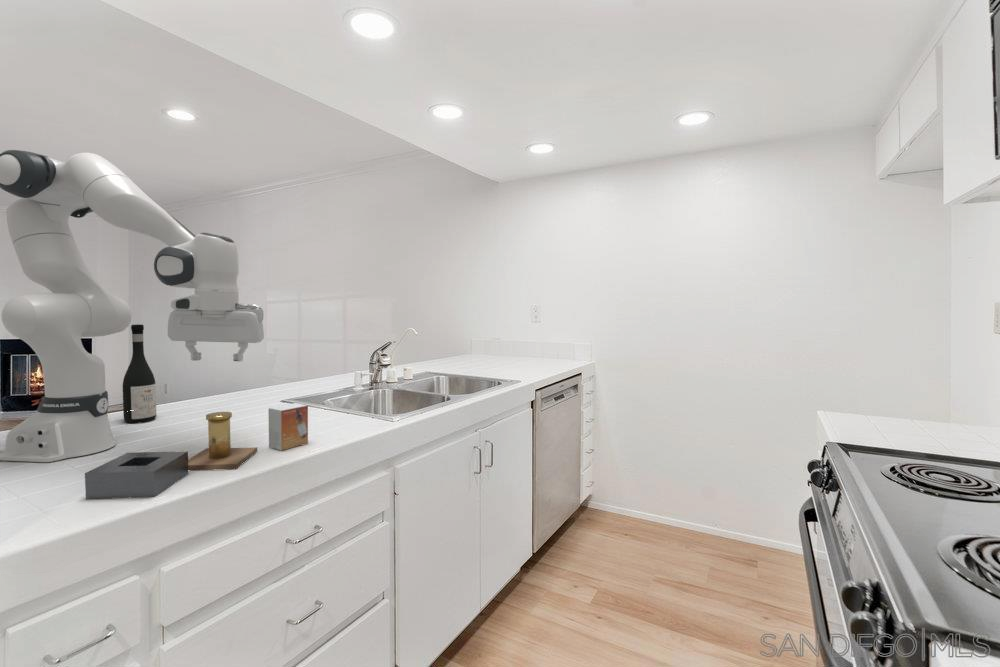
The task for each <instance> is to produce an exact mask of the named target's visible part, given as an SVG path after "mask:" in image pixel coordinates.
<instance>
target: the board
mask: <svg viewBox="0 0 1000 667" xmlns="http://www.w3.org/2000/svg"><path fill="white" fill-rule="evenodd" d="M256 452H257V453H258V447H257V446H255V447H231V455H230V456H228V457H226V458H221V459H210V458H209V447H208V448H207V447H206V448H205V449H203V450H201V451H199V452H198V453H197V454H195V455H193V456H192V457H190V458H188V470H190V471H214V469H227V470H237V469H238V467H239V466H240V465H241V464H242V463H243V462H245V461H246V460H247V459H248V460H250V459H251V458H252V457H253V456H255V455H256V454H257V453H256ZM255 453H256V454H255ZM252 455H253V456H252ZM251 456H252V457H251ZM250 457H251V458H250ZM249 458H250V459H249ZM248 460H247V461H248ZM247 461H246V462H247ZM246 462H245V463H246ZM243 464H244V463H243ZM243 464H242V465H243ZM242 465H241V466H242ZM241 466H240V467H241ZM240 467H239V468H240ZM236 468H237V469H236Z"/></svg>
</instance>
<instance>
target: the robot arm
mask: <svg viewBox="0 0 1000 667" xmlns="http://www.w3.org/2000/svg"><path fill="white" fill-rule="evenodd" d="M0 189H1V190H3V191H5V192H6V193H8V194H11V195H13V196H15V197H18V198H19V199H16V200H13V201H12V202H11V203H9V204H8V205H7V207H6V210H5V211H6V213H5V214H6V215H5V216H6V223H7V224H6V225H7V229H8V232H9V237H10V240H11V242H12V247H13V248H14V251H15V254H16V256H17V260H18V261H19V263H20V264H19V265H20V266H21V270H22V272H23V274H25V277H27V278H28V279H29V280H30V281H32V282H34V283H36V284H38V285H40V286H42V287H44V288H46V289H47V290H48V291H50V292H36V293H28V294H22V295H17V296H13V297H11V298H10V299H9V300H8V301H7V302H6V303H5V304H4V306H3V307H2V311H1V322H2V324H3V326H4V329H6V330H7V331H8V332H9V333H10V334H11V335H12V336H14V337H15V338H18V339H20V340H21V341H23V342H24V343H26V344H27V345H28V346H29V347H30V348H31V349H32V351H33V352H34V353H35V355H36V356H37V357H38V360H39V362H40V364H41V368H42V370H41V371H42V375H43V377H42V378H43V385H44V386H43V387H44V396H42V397H41V398H39V399H35V400H31V402H32V404H31V406H37V405H38V407H37V409H36V412H35V413H33V414H32V415H30V416H29V417H28V418H26V419H24V420H23V421H22V422H20V423H19V424H17V425H16V426H14V427H13V428H11V429H10V430H9V431H8V433H7V435H6V438H5V444H4V445H5V446H4V447H5V448H2V449H1V450H0V461H5V462H6V461H7V462H8V461H10V462H29V463H30V462H31V463H49V462H51V463H52V462H55V461H56V462H57V461H61V460H64V459H69V458H75V457H76V458H77V457H81V456H88V455H92V454H96V453H100V452H103V451H105V450H108V449H111V448H113V447H115V446H116V445H117V442H116V441H115V438H114V436H113V433H112V430H111V426H110V421H109V416H108V411H109V392H108V391H107V390H106V374H105V373H106V371H105V370H106V368H105V363H104V361H103V360H102V358H100V357H98V356H97V355H95V354H93V353H90V352H88V351H87V350H86V349H85V347H84V345H83V342H82V339H81V338H95V337H98V338H99V337H106V336H109V335H113V334H117V333H121V332H123V331H125V330H126V329H128V327H129V326H130V324H131V322H132V309H131V307H130V305H129V304H128V302H127V301H125V299H123V298H121V297H118V296H117V295H115V294H114V293H112V292H110V291H109V290H108V289H106V287H105V286H103V285H102V284H101V283H100V282H99V281H98V280H97V279H96V277H95V276H94V275H93V274H92V273H91V272H90V270H89V269H88V267H87V266H86V264H85V261H84V259H83V257H82V255H81V252H80V250H79V248H78V245H77V243H76V240H75V238H74V235H73V233H72V231H71V228H70V225H69V218H70V217H73V218H77V219H81V218H83V217H85V216H86V215H87V214H90V213H94V214H95V215H96V216H98V217H99V218H100V219H102V220H104V221H105V222H107V223H108V224H110V225H112V226H115V227H117V228H121V229H124V230H128V231H131V232H136V233H138V234H142V235H146V236H147V237H148V236H149V237H152V238H153V239H156V240H158V241H160V242H162V243H164V244H165V245H167V247H163V248H162V249H161V250H160V251H158V253H157V254H156V256H155V257H154V260H153V261H154V262H153V271H154V274H155V276H156V277H157V279H158V280H159V281H160V282H161V283H162V284H164V285H165V286H169V287H173V288H184V289H185V288H186V289H194V294H192V295H188V296H185V297H180V298H178V299H177V298H175V299H173V300H171V301H170V307H171V309H172V311H171V312H170V313H169V316H168V320H167V337H168V338H169V339H170V340H171V341H172V342H173V341H174V342H185V344H184V345H185V347H186V349H187V350H188V352H189V353H190V360H191V361H201V360H202V352H198V350H197V348H196V347H195V346H196V345H197V342H199V343H201V342H203V343H204V342H208V343H209V342H210V343H237V347H238V348H240V349H239V350H238V352H237V353H233V356H232V357H233V362H243V361H244V353H245V352H246V350H247V349H248V347H249V343H250V344H257V343H258V344H259V343H261V342H262V341H263V340H264V338H265V333H264V332H265V330H264V323H263V320H264V310H263V309H262V307H260V306H258V305H257V304H255V303H253V304H252V303H251V304H250V303H249V304H248V303H247V304H246V303H239V288H238V284H237V280H238V276H239V255H238V254H239V253H238V248H237V246H236V243H235V241H234V240H233V239H232V238H230V237H227V236H223V235H219V234H214V233H210V232H200V233H197V234H196V235H195V234H194V232H193V233H192V231H191V230H189V229H188V227H186V226H185V225H183V223H182V222H180V221H179V220H178V219H176V218H175V217H174V216H173V215H171V214H170V213H169V212H168V211H166V210H165V209H164V208H163V207H161V206H160V205H159V204H158V203H157V202H155V200H153V199H152V198H151V197H150V196H148V195H147V194H146V193H145V192H144V191H143V190H142V189H141V188H140V187H139V186H138V185H137V184H136V183H135V182H134V180H133V181H132V179H131V178H129V176H128V175H126V173H124V172H123V171H122V170H121V169H120V168H118V167H117V166H116V165H114V164H113V163H112V162H111V161H109V160H107V159H106V158H105V157H103V156H101V155H99V154H96V153H92V152H79V153H75V154H73V155H72V156H69V157H68V159H66V160H65V161H63V160H60V159H55V158H51V157H48V156H47V155H43V154H39V153H36V152H32V151H26V150H20V149H19V150H18V149H8V150H4V151H2V152H1V153H0ZM33 402H34V403H33Z"/></svg>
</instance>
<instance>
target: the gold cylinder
mask: <svg viewBox="0 0 1000 667" xmlns="http://www.w3.org/2000/svg"><path fill="white" fill-rule="evenodd" d="M232 417H233V413H232V412H231V411H216V412H211V413H208V414H206V415H205V420H207V424H208V425H207V428H208V430H207V431H208V448H209V458H210V459H221V458H226V457H228V456H230V455H231V448H232V445H231V418H232Z"/></svg>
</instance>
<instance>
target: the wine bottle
mask: <svg viewBox="0 0 1000 667" xmlns="http://www.w3.org/2000/svg"><path fill="white" fill-rule="evenodd" d="M144 328H145V327H144V324H141V323H140V324H138V323H137V324H131V325H130V330H131V337H132V356H131V360H130V362H129V365H128V368H127V370H126V372H125V373H124V377H123V381H122V407H123V410H122V411H123V420H124V421H125V423H128V424H140V423H139V422H142V423H146V422H145V421H147V422H150V421H149V420H151V421H153V420H155V419H156V417H157V389H156V388H157V386H156V379H155V376H154V374H153V371H152V369H151V368H150V365H149V364H148V362H147V360H146V357H145V350H144ZM130 410H134V411H130ZM127 411H128V412H127Z"/></svg>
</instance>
